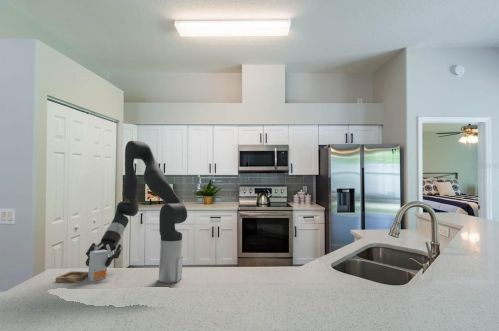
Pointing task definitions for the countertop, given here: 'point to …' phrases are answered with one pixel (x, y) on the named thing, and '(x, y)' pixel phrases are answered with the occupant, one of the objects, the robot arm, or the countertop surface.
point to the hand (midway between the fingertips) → (96, 265)
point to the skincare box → (97, 265)
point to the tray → (72, 277)
